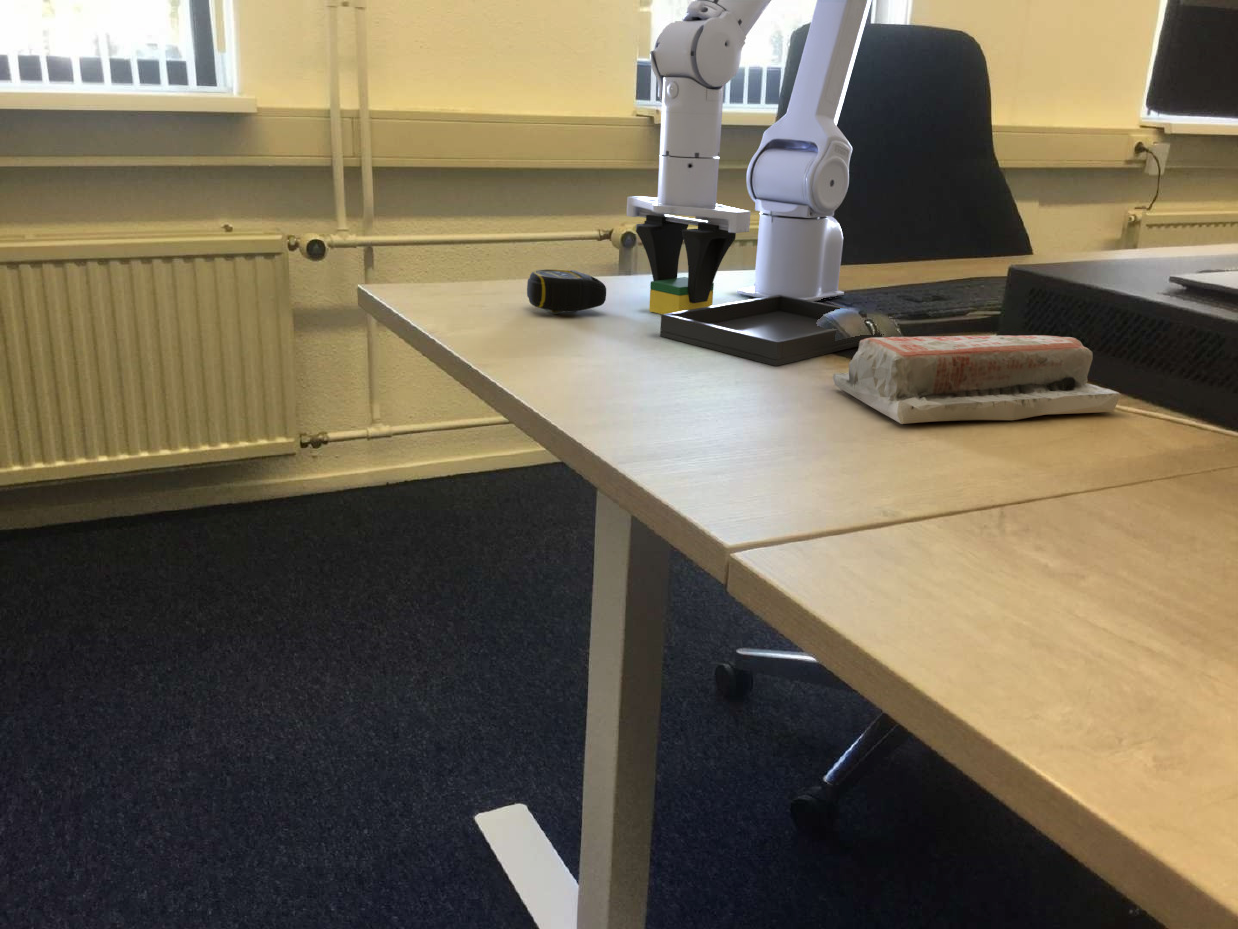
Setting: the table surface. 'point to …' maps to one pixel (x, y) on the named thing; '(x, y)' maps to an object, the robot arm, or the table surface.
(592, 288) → the tape measure
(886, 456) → the table surface
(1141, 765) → the table surface
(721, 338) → the tray
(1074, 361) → the packaged product
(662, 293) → the sponge
